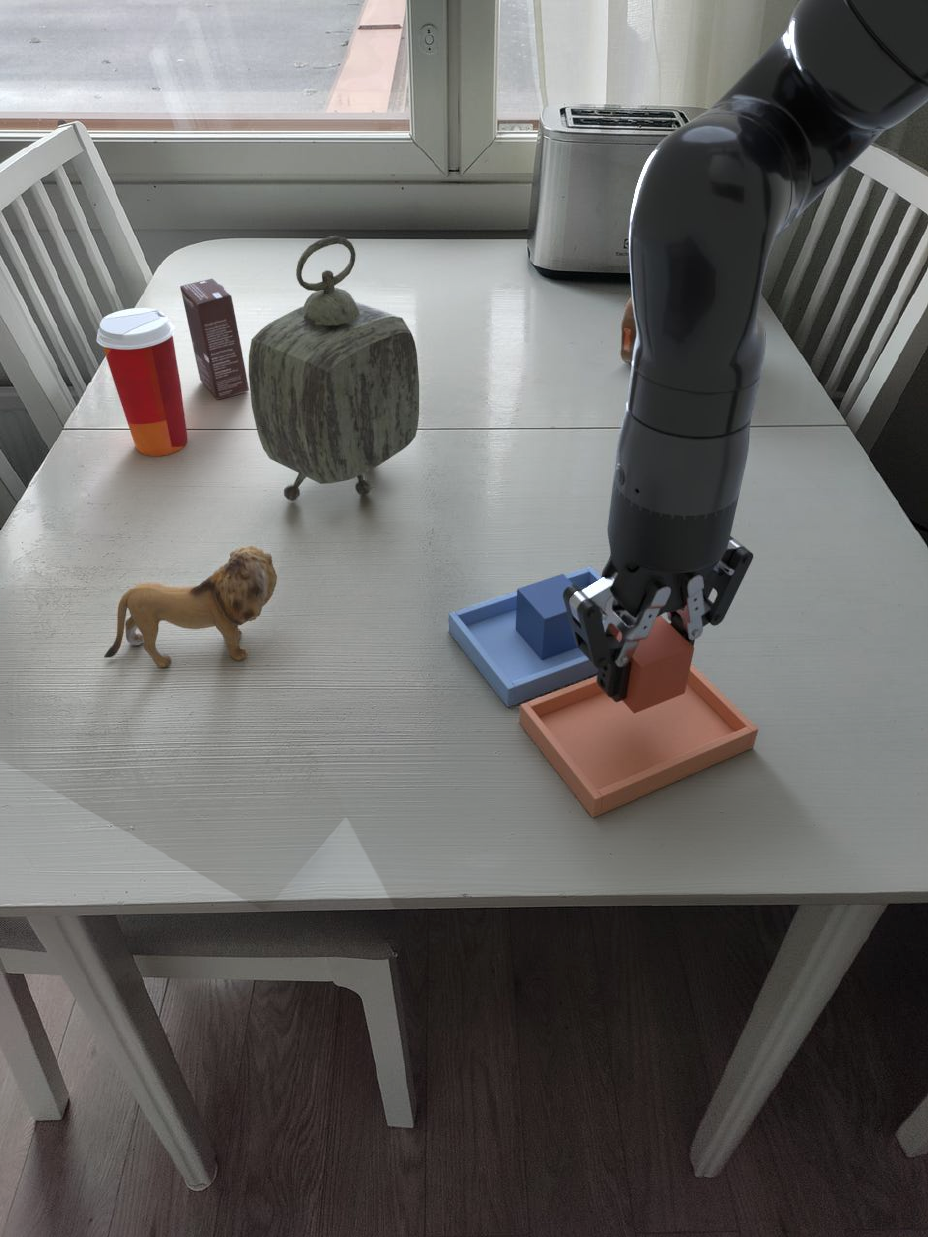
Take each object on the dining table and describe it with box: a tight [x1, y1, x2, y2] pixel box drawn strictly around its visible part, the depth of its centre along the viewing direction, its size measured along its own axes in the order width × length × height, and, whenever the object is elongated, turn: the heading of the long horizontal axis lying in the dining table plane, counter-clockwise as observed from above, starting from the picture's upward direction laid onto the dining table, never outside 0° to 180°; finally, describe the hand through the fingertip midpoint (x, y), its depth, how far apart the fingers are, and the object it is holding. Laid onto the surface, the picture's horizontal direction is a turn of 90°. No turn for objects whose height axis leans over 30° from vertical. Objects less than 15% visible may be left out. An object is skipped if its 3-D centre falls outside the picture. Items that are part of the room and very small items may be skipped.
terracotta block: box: [616, 615, 695, 713], centre depth 67 cm, size 4×4×4 cm
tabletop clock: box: [248, 235, 420, 501], centre depth 90 cm, size 14×9×25 cm, turn 141°
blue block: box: [516, 573, 577, 660], centre depth 78 cm, size 4×4×4 cm
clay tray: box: [518, 663, 759, 819], centre depth 71 cm, size 14×10×2 cm
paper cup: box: [95, 307, 188, 457], centre depth 101 cm, size 8×8×14 cm
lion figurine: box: [103, 545, 278, 668], centre depth 77 cm, size 15×5×9 cm, turn 104°
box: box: [179, 278, 250, 400], centre depth 112 cm, size 6×4×12 cm
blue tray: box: [448, 566, 636, 708], centre depth 79 cm, size 14×10×2 cm
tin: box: [619, 296, 637, 364], centre depth 121 cm, size 15×3×8 cm, turn 154°
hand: (642, 681), depth 68 cm, fingers closed on terracotta block, 4 cm apart
